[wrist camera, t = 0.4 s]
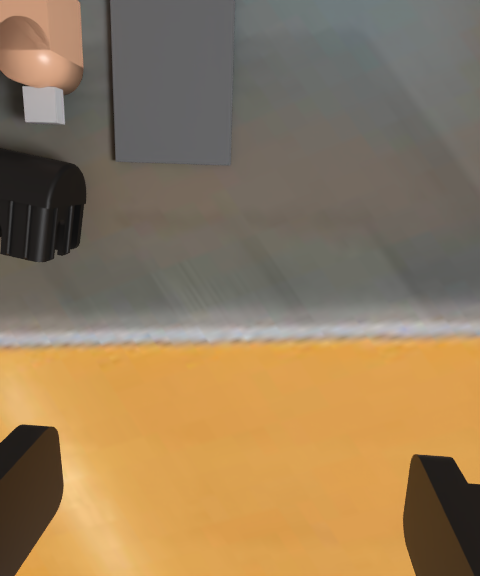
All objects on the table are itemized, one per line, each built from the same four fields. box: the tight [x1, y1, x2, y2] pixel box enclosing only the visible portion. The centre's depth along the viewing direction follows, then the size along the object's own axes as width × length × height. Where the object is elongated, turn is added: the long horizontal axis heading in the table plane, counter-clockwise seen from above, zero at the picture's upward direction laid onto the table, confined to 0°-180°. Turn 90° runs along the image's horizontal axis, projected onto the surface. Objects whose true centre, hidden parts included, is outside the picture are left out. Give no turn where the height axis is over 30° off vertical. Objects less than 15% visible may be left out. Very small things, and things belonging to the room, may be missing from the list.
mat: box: [110, 0, 235, 165], centre depth 33 cm, size 12×9×1 cm
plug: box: [0, 0, 83, 125], centre depth 32 cm, size 9×4×5 cm, turn 179°
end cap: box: [0, 148, 86, 262], centre depth 34 cm, size 10×7×7 cm
